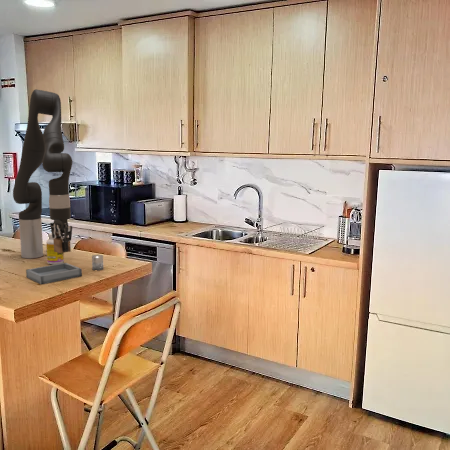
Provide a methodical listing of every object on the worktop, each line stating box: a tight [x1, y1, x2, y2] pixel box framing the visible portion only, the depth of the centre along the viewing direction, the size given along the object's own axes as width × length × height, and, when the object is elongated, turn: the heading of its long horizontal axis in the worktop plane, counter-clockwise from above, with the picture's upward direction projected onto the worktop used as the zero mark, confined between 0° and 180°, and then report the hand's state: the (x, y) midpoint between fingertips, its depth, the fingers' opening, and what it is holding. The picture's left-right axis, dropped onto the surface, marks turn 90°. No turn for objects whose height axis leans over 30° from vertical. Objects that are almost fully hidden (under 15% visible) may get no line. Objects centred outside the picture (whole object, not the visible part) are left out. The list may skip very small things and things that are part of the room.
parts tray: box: [25, 262, 83, 285], centre depth 182 cm, size 13×16×3 cm
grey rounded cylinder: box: [91, 254, 104, 272], centre depth 193 cm, size 4×4×6 cm
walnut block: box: [53, 238, 72, 254], centre depth 182 cm, size 4×4×5 cm
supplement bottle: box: [45, 232, 65, 265], centre depth 202 cm, size 7×7×13 cm
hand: (62, 250), depth 183 cm, fingers closed on walnut block, 4 cm apart
